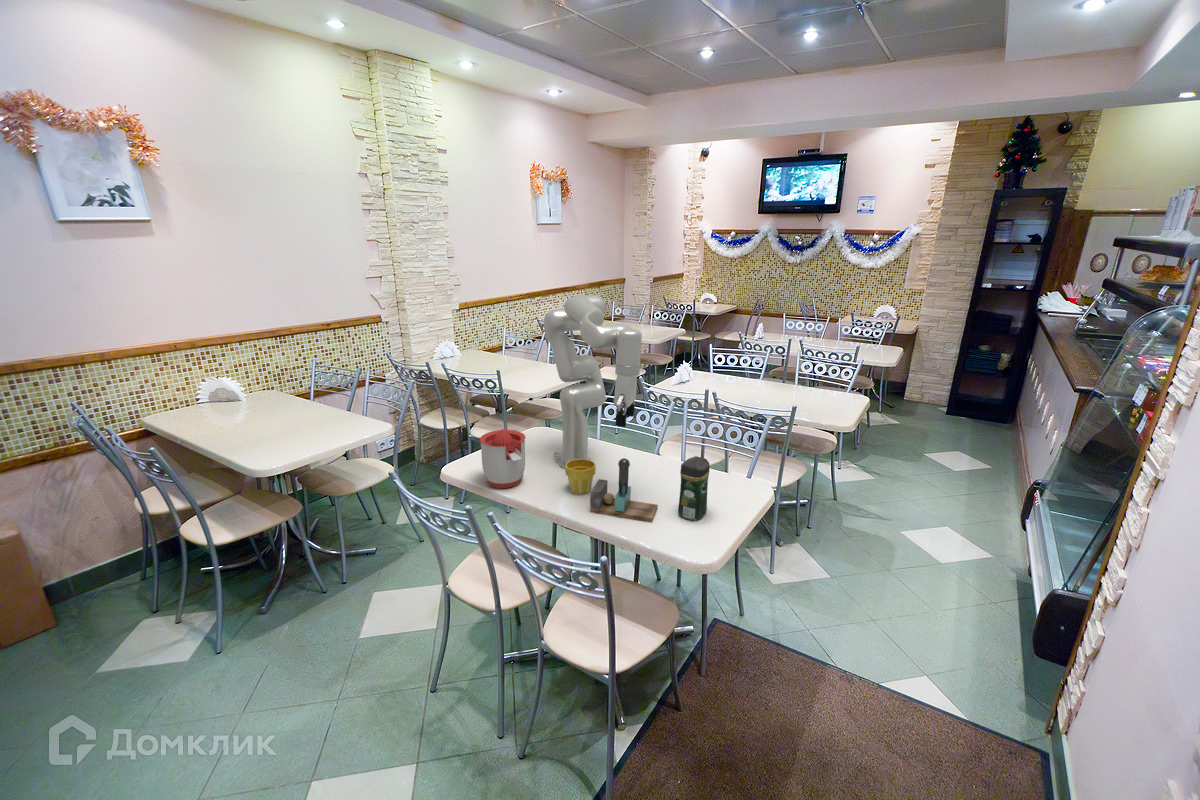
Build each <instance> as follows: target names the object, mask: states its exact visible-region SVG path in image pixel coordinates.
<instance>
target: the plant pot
mask: <svg viewBox="0 0 1200 800" xmlns="http://www.w3.org/2000/svg"><path fill="white" fill-rule="evenodd" d="M564 472H565V475H566V476H567V479H568V483H569V487H570V491H571V493H574V494H576V495H586V494H588V493H590V491H591V489H592V488H591V487H592V482H593V478H594V476H595V475H596V463H595V461H593V460H592V459H591V460H588V459H574V460H570V461H568V462H567V463H566V464H565V469H564Z"/></svg>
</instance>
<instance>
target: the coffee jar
mask: <svg viewBox="0 0 1200 800" xmlns="http://www.w3.org/2000/svg"><path fill="white" fill-rule="evenodd" d="M679 473H680V487H679V489H680V490H679V498H678V499H679V500H678V508H677V514H678V515H679V516H680V517H681V518H683V519H685V520H689V521H698V520H700V519H701V518H702V517H703V516H705V514H706V513H707V509H708V485H709V476H710V462H709V460H708V459H707V458H705V457H700V456H698V455H697V456H696V455H695V456H692V457H690V458H688V459H685V461H683V462H682V463H681V465H680V472H679Z"/></svg>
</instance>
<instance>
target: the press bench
mask: <svg viewBox="0 0 1200 800" xmlns="http://www.w3.org/2000/svg"><path fill="white" fill-rule="evenodd" d="M607 493H608V480H607V479H601V478H599V479H597V480H596V483H595V484H594V485H593V487H592V488H591V489H590V491H589V495H590V496H589V498H590V500H589V507H590V508H589V510H590V511H589V512H590V513H592V514H598V515H605V516H610V517H617V518H621V519H627V520H633V521H640V522H644V523H645V522H646V523H653V521H654V518H655V516H656V514H657V512H658V506H659V505H658V504H654V503H648V502H642V501H636V500H631V499H630V502H629V504H628V506H627V508H626V510H625V512H621V511H615V497H614V502H613V503H612V504H606V503H605V502H604V501H603V497H604V495H605V494H607Z"/></svg>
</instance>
